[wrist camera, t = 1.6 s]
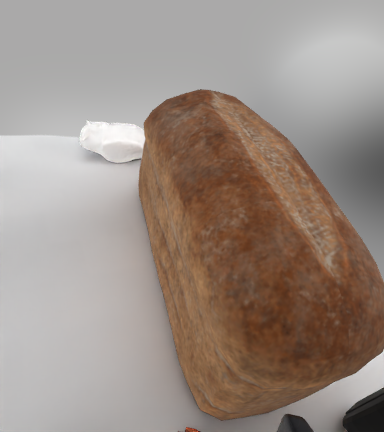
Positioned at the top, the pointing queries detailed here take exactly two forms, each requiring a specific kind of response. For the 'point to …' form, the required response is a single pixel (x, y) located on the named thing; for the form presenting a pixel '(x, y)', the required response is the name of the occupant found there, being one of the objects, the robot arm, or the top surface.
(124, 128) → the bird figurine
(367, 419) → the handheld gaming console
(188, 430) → the necklace
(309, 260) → the bread
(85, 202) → the top surface
